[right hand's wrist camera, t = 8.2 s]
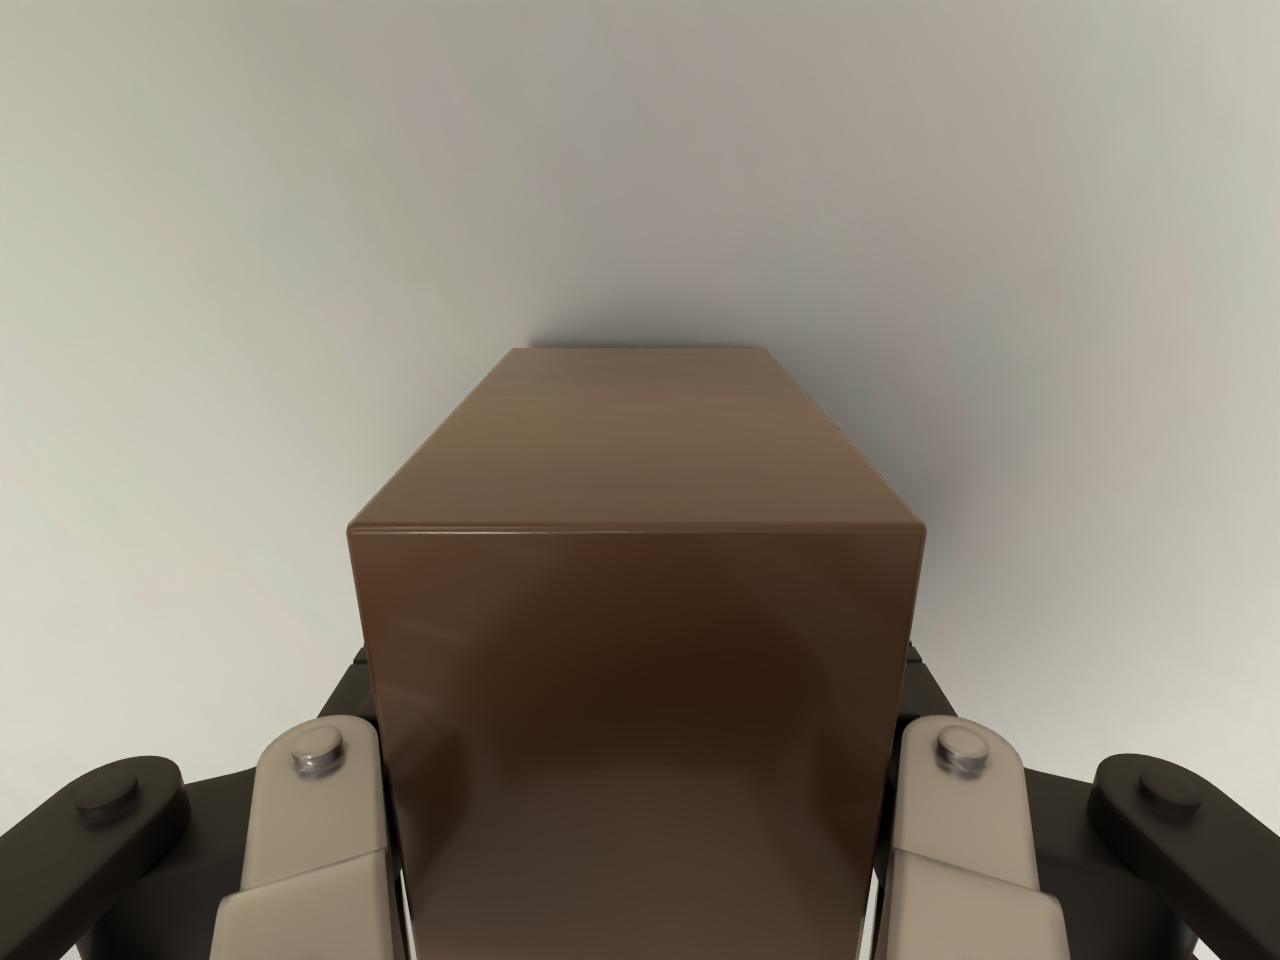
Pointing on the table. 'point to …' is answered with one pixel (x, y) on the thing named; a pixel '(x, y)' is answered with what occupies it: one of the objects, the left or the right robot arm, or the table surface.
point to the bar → (637, 661)
